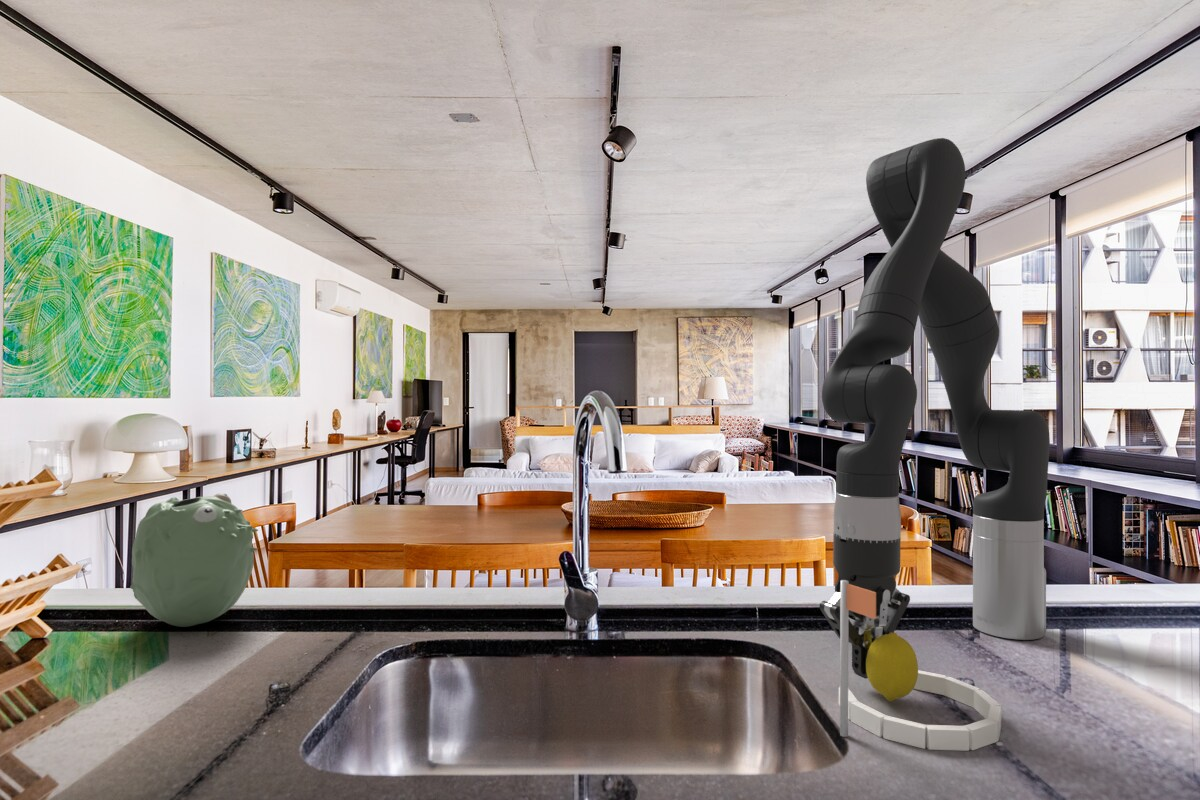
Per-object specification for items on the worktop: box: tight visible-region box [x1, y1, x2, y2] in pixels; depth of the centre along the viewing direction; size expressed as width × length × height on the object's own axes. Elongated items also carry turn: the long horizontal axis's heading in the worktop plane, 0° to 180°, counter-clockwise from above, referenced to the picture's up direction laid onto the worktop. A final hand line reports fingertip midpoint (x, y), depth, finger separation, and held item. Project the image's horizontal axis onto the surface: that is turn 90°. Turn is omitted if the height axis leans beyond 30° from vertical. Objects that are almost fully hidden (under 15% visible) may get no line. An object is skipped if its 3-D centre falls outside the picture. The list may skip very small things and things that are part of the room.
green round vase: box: [129, 493, 259, 628], centre depth 107 cm, size 16×19×20 cm
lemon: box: [866, 631, 919, 702], centre depth 80 cm, size 6×6×8 cm
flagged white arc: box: [838, 580, 1002, 752], centre depth 75 cm, size 19×14×16 cm
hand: (864, 675), depth 83 cm, fingers closed
